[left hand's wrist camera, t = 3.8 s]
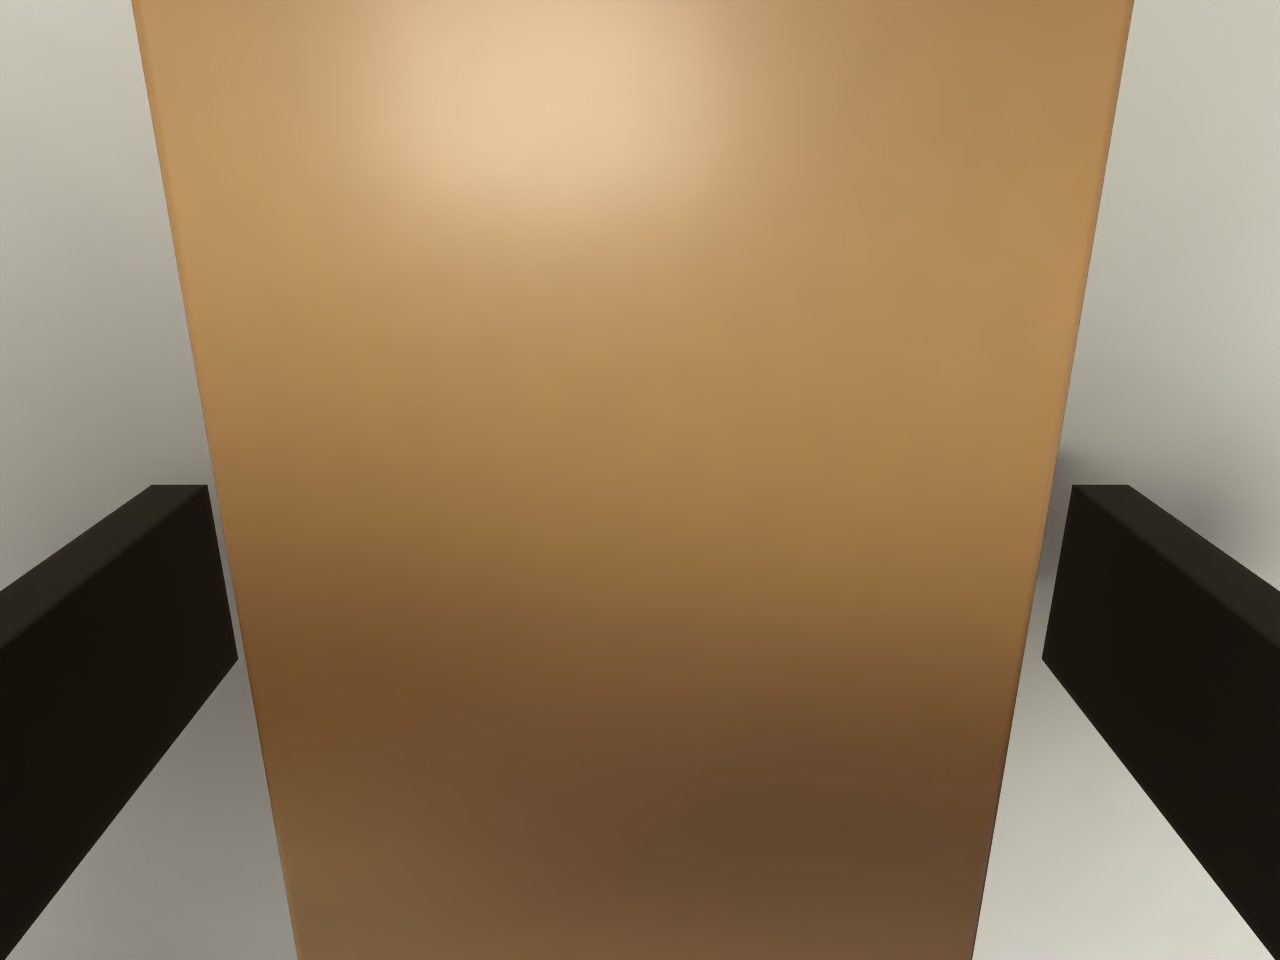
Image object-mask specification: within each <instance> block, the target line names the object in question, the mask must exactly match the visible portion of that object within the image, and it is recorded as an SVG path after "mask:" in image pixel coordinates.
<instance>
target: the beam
mask: <svg viewBox="0 0 1280 960" xmlns="http://www.w3.org/2000/svg"><path fill="white" fill-rule="evenodd" d="M131 1H132V7H133V13H134V18H135V24H136V30H137V36H138V41H139V47H140V53H141V59H142V64H143V70H144V76H145V82H146V87H147V93H148V99H149V105H150V110H151V116H152V122H153V128H154V133H155V139H156V145H157V151H158V156H159V162H160V168H161V174H162V179H163V185H164V191H165V197H166V202H167V208H168V214H169V220H170V226H171V231H172V237H173V243H174V249H175V254H176V260H177V266H178V272H179V277H180V283H181V289H182V295H183V300H184V306H185V312H186V318H187V323H188V329H189V335H190V341H191V346H192V352H193V358H194V364H195V369H196V375H197V381H198V387H199V392H200V398H201V404H202V410H203V415H204V421H205V427H206V433H207V438H208V444H209V450H210V456H211V461H212V467H213V473H214V479H215V484H216V490H217V496H218V502H219V507H220V513H221V519H222V525H223V530H224V536H225V542H226V548H227V553H228V559H229V565H230V571H231V576H232V582H233V588H234V594H235V599H236V605H237V611H238V617H239V622H240V628H241V634H242V640H243V645H244V651H245V657H246V663H247V668H248V674H249V680H250V686H251V691H252V697H253V703H254V709H255V715H256V720H257V726H258V732H259V738H260V743H261V749H262V755H263V761H264V766H265V772H266V778H267V784H268V789H269V795H270V801H271V807H272V812H273V818H274V824H275V830H276V835H277V841H278V847H279V853H280V858H281V864H282V870H283V876H284V881H285V887H286V893H287V899H288V904H289V910H290V916H291V922H292V927H293V933H294V939H295V945H296V950H297V956H298V960H972V957H973V951H974V945H975V939H976V933H977V927H978V922H979V916H980V910H981V904H982V898H983V892H984V886H985V880H986V874H987V868H988V862H989V856H990V850H991V845H992V839H993V833H994V827H995V821H996V815H997V809H998V803H999V797H1000V791H1001V785H1002V779H1003V773H1004V768H1005V762H1006V756H1007V750H1008V744H1009V738H1010V732H1011V726H1012V720H1013V714H1014V708H1015V702H1016V697H1017V691H1018V685H1019V679H1020V673H1021V667H1022V661H1023V655H1024V649H1025V643H1026V637H1027V631H1028V625H1029V620H1030V614H1031V608H1032V602H1033V596H1034V590H1035V584H1036V578H1037V572H1038V566H1039V560H1040V554H1041V548H1042V543H1043V537H1044V531H1045V525H1046V519H1047V513H1048V507H1049V501H1050V495H1051V489H1052V483H1053V477H1054V471H1055V466H1056V460H1057V454H1058V448H1059V442H1060V436H1061V430H1062V424H1063V418H1064V412H1065V406H1066V400H1067V394H1068V389H1069V383H1070V377H1071V371H1072V365H1073V359H1074V353H1075V347H1076V341H1077V335H1078V329H1079V323H1080V317H1081V312H1082V306H1083V300H1084V294H1085V288H1086V282H1087V276H1088V270H1089V264H1090V258H1091V252H1092V246H1093V241H1094V235H1095V229H1096V223H1097V217H1098V211H1099V205H1100V199H1101V193H1102V187H1103V181H1104V175H1105V169H1106V164H1107V158H1108V152H1109V146H1110V140H1111V134H1112V128H1113V122H1114V116H1115V110H1116V104H1117V98H1118V92H1119V87H1120V81H1121V75H1122V69H1123V63H1124V57H1125V51H1126V45H1127V39H1128V33H1129V27H1130V21H1131V15H1132V10H1133V4H1134V0H131Z"/></svg>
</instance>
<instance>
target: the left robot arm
mask: <svg viewBox="0 0 1280 960" xmlns="http://www.w3.org/2000/svg"><path fill="white" fill-rule="evenodd" d="M237 660H238V655H237V649H236V644H235V638H234V632H233V627H232V621H231V615H230V610H229V604H228V598H227V593H226V587H225V581H224V576H223V570H222V565H221V559H220V553H219V548H218V542H217V536H216V531H215V525H214V519H213V514H212V508H211V502H210V497H209V491H208V485H151V486H149V487H148V488H147V489H145V490H144V491H142V492H141V493H139V494H138V495H137V496H135V497H134V498H132V499H131V500H129V501H128V502H127V503H125V504H124V505H122V506H121V507H120V508H118V509H117V510H115V511H114V512H112V513H111V514H110V515H108V516H107V517H105V518H104V519H103V520H101V521H100V522H98V523H97V524H95V525H94V526H93V527H91V528H90V529H88V530H87V531H85V532H84V533H83V534H81V535H80V536H78V537H77V538H76V539H74V540H73V541H71V542H70V543H68V544H67V545H66V546H64V547H63V548H61V549H60V550H58V551H57V552H56V553H54V554H53V555H51V556H50V557H49V558H47V559H46V560H44V561H43V562H41V563H40V564H39V565H37V566H36V567H34V568H33V569H31V570H30V571H29V572H27V573H26V574H24V575H23V576H22V577H20V578H19V579H17V580H16V581H14V582H13V583H12V584H10V585H9V586H7V587H6V588H4V589H3V590H2V591H0V960H5V959H6V958H7V956H8V955H9V954H10V952H11V951H12V950H13V949H14V947H15V946H16V945H17V943H18V942H19V941H20V939H21V938H22V937H23V936H24V934H25V933H26V932H27V930H28V929H29V928H30V927H31V925H32V924H33V923H34V921H35V920H36V919H37V918H38V916H39V915H40V914H41V912H42V911H43V910H44V909H45V907H46V906H47V905H48V903H49V902H50V901H51V900H52V898H53V897H54V896H55V894H56V893H57V892H58V891H59V889H60V888H61V887H62V885H63V884H64V883H65V882H66V880H67V879H68V878H69V876H70V875H71V874H72V872H73V871H74V870H75V869H76V867H77V866H78V865H79V863H80V862H81V861H82V860H83V858H84V857H85V856H86V854H87V853H88V852H89V851H90V849H91V848H92V847H93V845H94V844H95V843H96V842H97V840H98V839H99V838H100V836H101V835H102V834H103V833H104V831H105V830H106V829H107V827H108V826H109V825H110V824H111V822H112V821H113V820H114V818H115V817H116V816H117V814H118V813H119V812H120V811H121V809H122V808H123V807H124V805H125V804H126V803H127V802H128V800H129V799H130V798H131V796H132V795H133V794H134V793H135V791H136V790H137V789H138V787H139V786H140V785H141V784H142V782H143V781H144V780H145V778H146V777H147V776H148V775H149V773H150V772H151V771H152V769H153V768H154V767H155V766H156V764H157V763H158V762H159V760H160V759H161V758H162V757H163V755H164V754H165V753H166V751H167V750H168V749H169V747H170V746H171V745H172V744H173V742H174V741H175V740H176V738H177V737H178V736H179V735H180V733H181V732H182V731H183V729H184V728H185V727H186V726H187V724H188V723H189V722H190V720H191V719H192V718H193V717H194V715H195V714H196V713H197V711H198V710H199V709H200V708H201V706H202V705H203V704H204V702H205V701H206V700H207V699H208V697H209V696H210V695H211V693H212V692H213V691H214V689H215V688H216V687H217V686H218V684H219V683H220V682H221V680H222V679H223V678H224V677H225V675H226V674H227V673H228V671H229V670H230V669H231V668H232V666H233V665H234V664H235V662H236V661H237ZM1042 660H1043V661H1044V662H1045V664H1046V665H1047V666H1048V668H1049V669H1050V670H1051V671H1052V673H1053V674H1054V675H1055V677H1056V678H1057V679H1058V681H1059V682H1060V683H1061V684H1062V686H1063V687H1064V688H1065V690H1066V691H1067V692H1068V693H1069V695H1070V696H1071V697H1072V699H1073V700H1074V701H1075V702H1076V704H1077V705H1078V706H1079V708H1080V709H1081V710H1082V711H1083V713H1084V714H1085V715H1086V717H1087V718H1088V719H1089V720H1090V722H1091V723H1092V724H1093V726H1094V727H1095V728H1096V729H1097V731H1098V732H1099V733H1100V735H1101V736H1102V737H1103V738H1104V740H1105V741H1106V742H1107V744H1108V745H1109V746H1110V748H1111V749H1112V750H1113V751H1114V753H1115V754H1116V755H1117V757H1118V758H1119V759H1120V760H1121V762H1122V763H1123V764H1124V766H1125V767H1126V768H1127V769H1128V771H1129V772H1130V773H1131V775H1132V776H1133V777H1134V778H1135V780H1136V781H1137V782H1138V784H1139V785H1140V786H1141V787H1142V789H1143V790H1144V791H1145V793H1146V794H1147V795H1148V796H1149V798H1150V799H1151V800H1152V802H1153V803H1154V804H1155V806H1156V807H1157V808H1158V809H1159V811H1160V812H1161V813H1162V815H1163V816H1164V817H1165V818H1166V820H1167V821H1168V822H1169V824H1170V825H1171V826H1172V827H1173V829H1174V830H1175V831H1176V833H1177V834H1178V835H1179V836H1180V838H1181V839H1182V840H1183V842H1184V843H1185V844H1186V845H1187V847H1188V848H1189V849H1190V851H1191V852H1192V853H1193V854H1194V856H1195V857H1196V858H1197V860H1198V861H1199V862H1200V863H1201V865H1202V866H1203V867H1204V869H1205V870H1206V871H1207V873H1208V874H1209V875H1210V876H1211V878H1212V879H1213V880H1214V882H1215V883H1216V884H1217V885H1218V887H1219V888H1220V889H1221V891H1222V892H1223V893H1224V894H1225V896H1226V897H1227V898H1228V900H1229V901H1230V902H1231V903H1232V905H1233V906H1234V907H1235V909H1236V910H1237V911H1238V912H1239V914H1240V915H1241V916H1242V918H1243V919H1244V920H1245V921H1246V923H1247V924H1248V925H1249V927H1250V928H1251V929H1252V931H1253V932H1254V933H1255V934H1256V936H1257V937H1258V938H1259V940H1260V941H1261V942H1262V943H1263V945H1264V946H1265V947H1266V949H1267V950H1268V951H1269V952H1270V954H1271V955H1272V956H1273V958H1274V959H1275V960H1280V591H1278V590H1277V589H1275V588H1274V587H1273V586H1271V585H1270V584H1268V583H1267V582H1266V581H1264V580H1263V579H1261V578H1260V577H1258V576H1257V575H1256V574H1254V573H1253V572H1251V571H1250V570H1249V569H1247V568H1246V567H1244V566H1243V565H1241V564H1240V563H1239V562H1237V561H1236V560H1234V559H1233V558H1231V557H1230V556H1229V555H1227V554H1226V553H1224V552H1223V551H1222V550H1220V549H1219V548H1217V547H1216V546H1214V545H1213V544H1212V543H1210V542H1209V541H1207V540H1206V539H1204V538H1203V537H1202V536H1200V535H1199V534H1197V533H1196V532H1195V531H1193V530H1192V529H1190V528H1189V527H1187V526H1186V525H1185V524H1183V523H1182V522H1180V521H1179V520H1177V519H1176V518H1175V517H1173V516H1172V515H1170V514H1169V513H1168V512H1166V511H1165V510H1163V509H1162V508H1160V507H1159V506H1158V505H1156V504H1155V503H1153V502H1152V501H1150V500H1149V499H1148V498H1146V497H1145V496H1143V495H1142V494H1141V493H1139V492H1138V491H1136V490H1135V489H1133V488H1132V487H1131V486H1129V485H1072V491H1071V497H1070V502H1069V508H1068V514H1067V519H1066V525H1065V530H1064V536H1063V542H1062V547H1061V553H1060V559H1059V564H1058V570H1057V576H1056V581H1055V587H1054V593H1053V598H1052V604H1051V610H1050V615H1049V621H1048V626H1047V632H1046V638H1045V643H1044V649H1043V655H1042Z"/></svg>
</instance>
